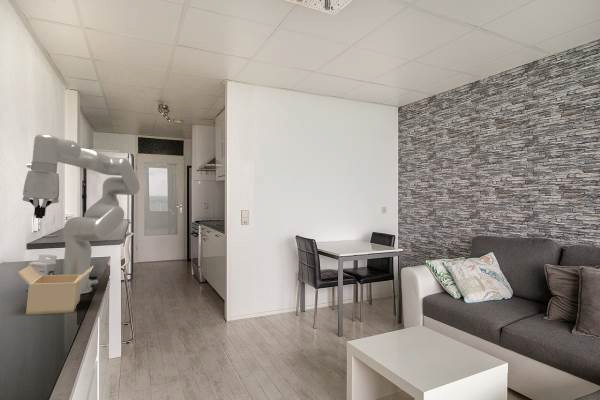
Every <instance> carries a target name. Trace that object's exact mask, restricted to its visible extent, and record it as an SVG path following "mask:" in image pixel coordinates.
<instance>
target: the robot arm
mask: <svg viewBox="0 0 600 400" xmlns="http://www.w3.org/2000/svg"><path fill="white" fill-rule="evenodd" d="M32 153H33V154H32V160H31V163H26V168H29V169H30V170H28V171H27V172H26V176H25V181H24V185H23V191H22V195H23V196H22V201H25V202H27V203H30V204H31V205H32V206H33V208H34V213H33V215H34V217H35V219H43V218H44V217H45V216H46V211H47V208H48V207H49V206H51V204H52V205H53V204H59V203H60V199H59V197H60V175H59V173H57V171H58V164H59V163H61V164H65V165H69V166H72V167H73V166H74V167H77V168H82V169H87V170H90V171H93V172H96V173H99V174H102V175H104V176H105V175H106V176H110V177H108V178H106V179H105V180H104V181H103V183H102V195H101V198H100V199H98V200H97V201H96V202H94V203H93V204H92V205H90V207H89V208H87V210H85V212H84V216H74V217H71V218H69V219H68V220H67V221H65V223H64V228H63V233H64V239H65V240H64V241H65V242H64V243H65V245H64V246H65V247H64V258H63V265H62V275H82V274H83V273H85V272H86V271H87V270H88V269H89V268H90V267H91V260H92V250H93V249H92V245H91V243H90V241H93V242H94V241H95V242H96V241H99V242H100V241H104V240H106V239H107V238H108V237H109V236H111V234H112V233H113V232H115V230H117V228H119V227H120V226H121V224H122V223H123V221H124V220H125V219H124V218H125V212H124V209H123V207H121V206H120V202H119V199H118V195H121V196H135V195H136V194H138V192H139V191H140V183H139V179H138V177H137V174H136V172H135V170H134V168H133V165H132V164H131V161H129V160H128V159H127V158H125V157H114V156H109V155H105V154H103V153H101V152H99V151H96V150H94V149H89V148H82V147H81V145H80V144H79V143H78V142H76V141H74V140H71V139H70V140H69V139H64V138H63V139H62V138H58V137H56V136H54V135H49V134H37V135H35V137H34V142H33V150H32ZM117 176H118V177H117ZM40 200H42V204H41V205H40ZM98 284H99V280H98V279H90V273H89V274H87V275H86V276H85V277H84V278H83V279H82V281H81V292H80V295H84V294H88V293H91V292H92V291H93V287H92V285H98Z"/></svg>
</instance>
